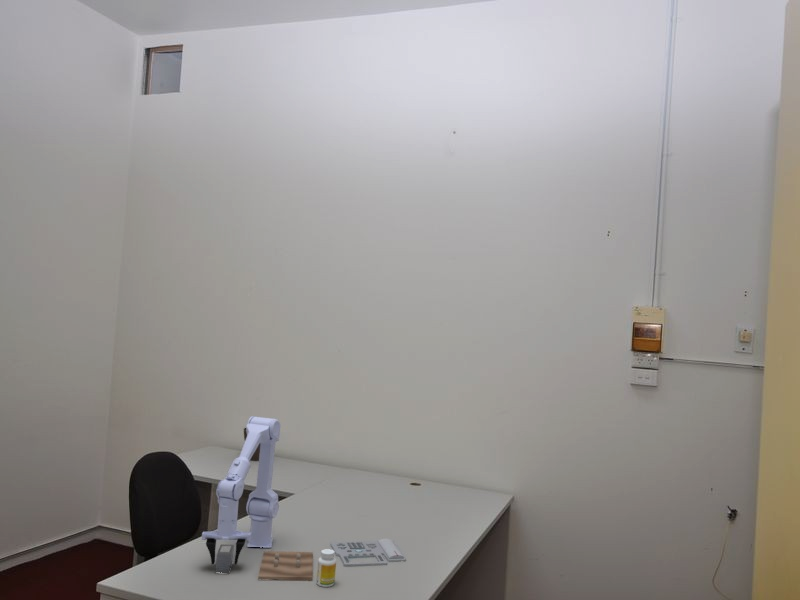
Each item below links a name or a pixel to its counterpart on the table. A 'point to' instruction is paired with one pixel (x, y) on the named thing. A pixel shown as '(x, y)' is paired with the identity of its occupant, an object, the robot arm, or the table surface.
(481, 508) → the table surface
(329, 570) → the supplement bottle
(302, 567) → the pin tray
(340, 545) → the office telephone
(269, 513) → the robot arm
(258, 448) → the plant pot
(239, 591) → the table surface
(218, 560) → the block
